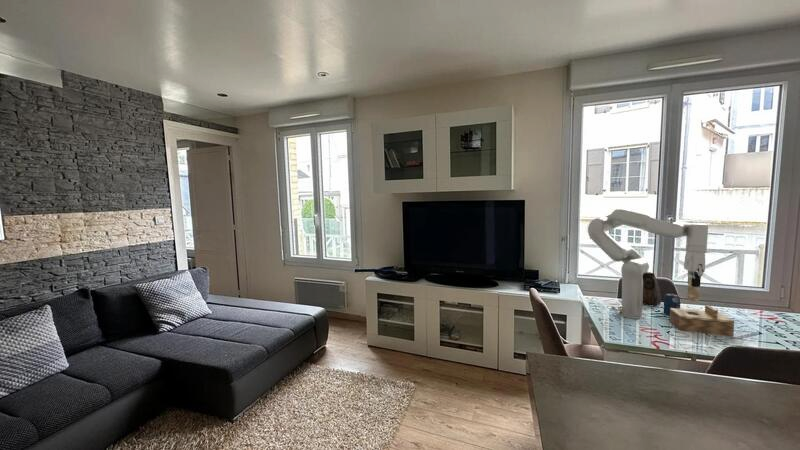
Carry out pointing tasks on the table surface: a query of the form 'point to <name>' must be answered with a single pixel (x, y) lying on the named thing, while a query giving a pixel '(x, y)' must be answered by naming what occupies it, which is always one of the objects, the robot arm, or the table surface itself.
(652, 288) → the owl
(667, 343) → the table surface
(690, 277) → the block
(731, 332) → the wooden box with slot
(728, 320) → the lid
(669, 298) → the soda can
